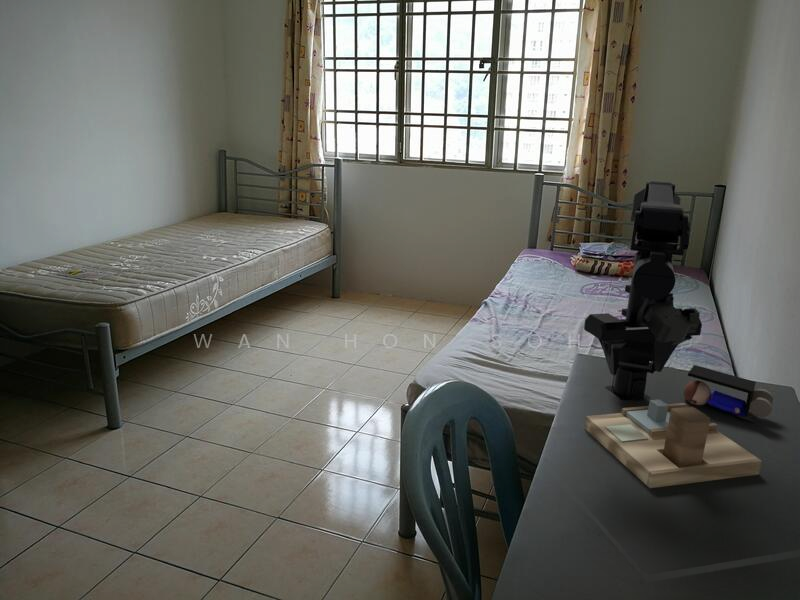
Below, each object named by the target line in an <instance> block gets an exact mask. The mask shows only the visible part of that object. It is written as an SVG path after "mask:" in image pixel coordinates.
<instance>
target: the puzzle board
mask: <svg viewBox="0 0 800 600" xmlns="http://www.w3.org/2000/svg"><path fill="white" fill-rule="evenodd" d="M666 404H667V405H668V410H667V412H669V413H670V412H671V409H672V408H683V407H687V403H684V402H680V403H679V402H678V403H677V402H676V403H666ZM648 408H649V405H645V406H644V405H643V406H632V407H631V406H630V407H622V408H621V411H620V412H617V413H608V414H607V413H606V414H596V415H586V416H585V422H584V430H585V431H586V432H587V433H589V434H590V435H591V437H593V438H594V439H595V440H596V441H597V442H598V443H600V445H602V446H603V447H604V448H605V449H606V450H607V451H608V452H609V453H610V454H612V455H613V456H614V457H615V458H616V459H617V460H618V461H619V462H621V464H622V465H624V466H625V467H626V468H627V469H628V470H629V471H630V472H631V473H632V474H634V475H635V476H636V477H637V479H638V480H640V481H641V482H642V483H643V484H644V485H646V487H647V488H648V489H653V488H662V487H669V486H670V487H671V486H677V485H678V486H679V485H686V484H694V483H702V482H710V481H718V480H726V479H734V478H742V477H751V476H758V475H760V470H761V467H762V460H761V459H760V458H758V457H757V456H755V455H754V454H752V452H749V451H748V450H747V449H745V448H744V447H743V446H741V445H739V444H738V443H736V442H735V441H733V440H732V439H730V438H728V436H726V435H724V434H722V432H720V431H718V430H717V429H718V424H717V423H715V422H711V423H709V428H708V433H707V438H706V443H705V448H704V453H703V458H702V463H701V465H699V466H690V467H682V468H678V467H677V466H676V465H675V464H673V463H672V462H671V461H670V460H669V459H667V458H666V457H665V456H664V455H663V451H664V446H665V440H666V435H667V429H668V428H659V429H649V433H647V432H646V431H645V430H643V429H642V428H641V427H640V426H638V425H637V424H636V423H635V422H633V421H632V420H631V419H629V418H628V417H627V416H626V412H628V411H639V410H648Z"/></svg>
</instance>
